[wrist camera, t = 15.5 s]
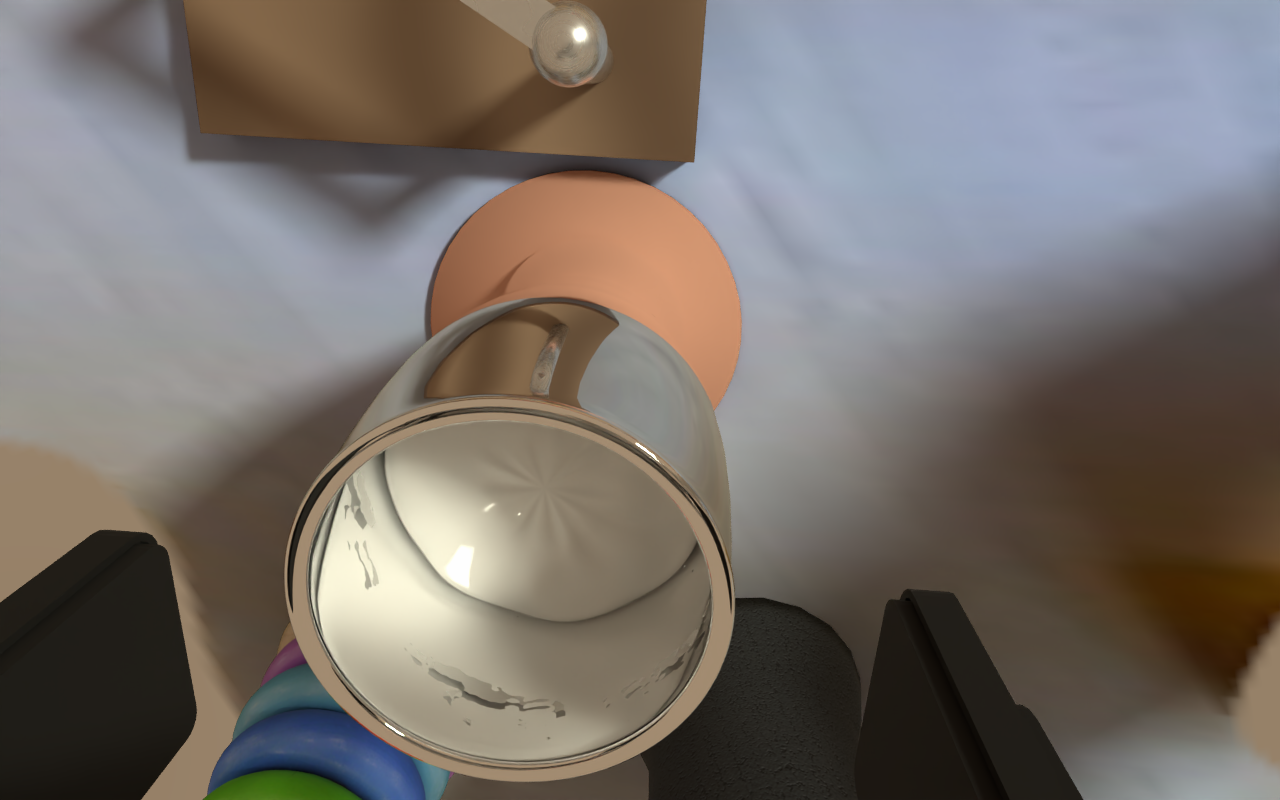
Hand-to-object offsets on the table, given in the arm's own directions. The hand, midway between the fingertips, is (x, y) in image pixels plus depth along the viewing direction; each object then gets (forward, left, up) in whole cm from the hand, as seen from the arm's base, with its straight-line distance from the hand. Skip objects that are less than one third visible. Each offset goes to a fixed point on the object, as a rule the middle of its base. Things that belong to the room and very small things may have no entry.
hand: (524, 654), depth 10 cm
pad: (+1, 0, -16) cm, 16 cm away
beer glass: (0, 0, -16) cm, 16 cm away
